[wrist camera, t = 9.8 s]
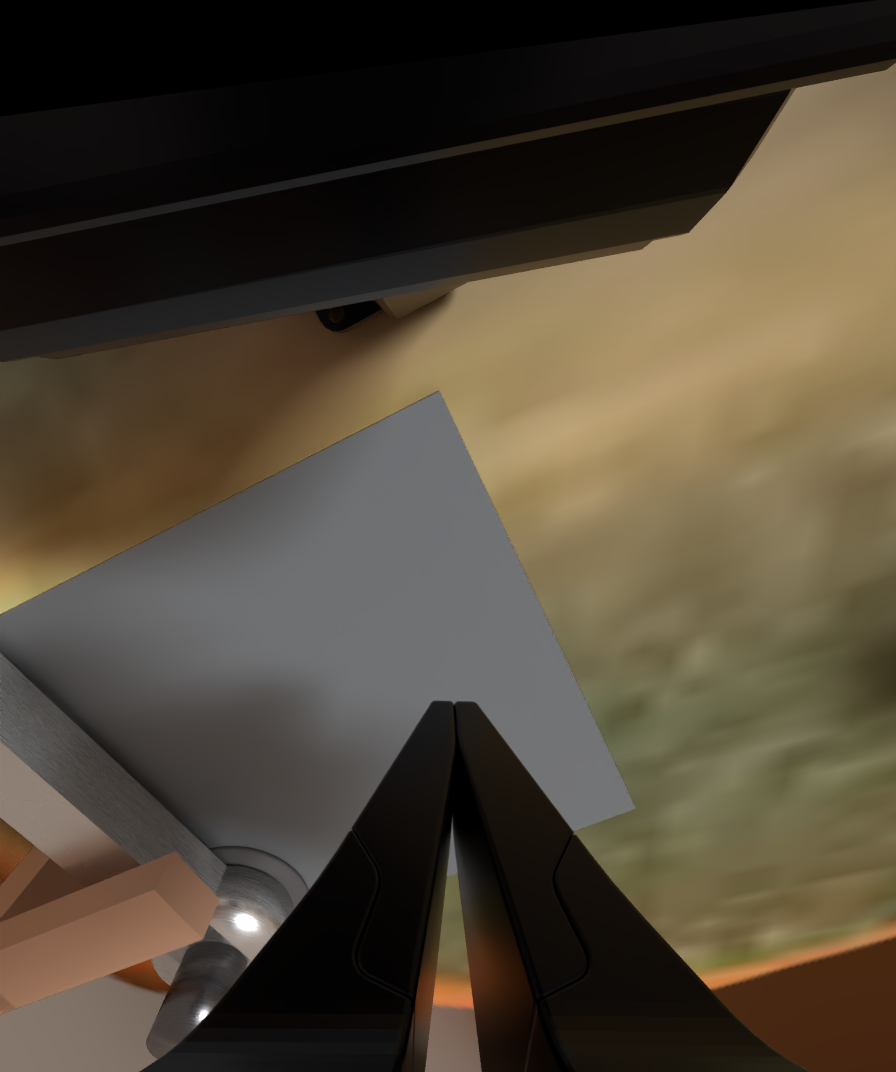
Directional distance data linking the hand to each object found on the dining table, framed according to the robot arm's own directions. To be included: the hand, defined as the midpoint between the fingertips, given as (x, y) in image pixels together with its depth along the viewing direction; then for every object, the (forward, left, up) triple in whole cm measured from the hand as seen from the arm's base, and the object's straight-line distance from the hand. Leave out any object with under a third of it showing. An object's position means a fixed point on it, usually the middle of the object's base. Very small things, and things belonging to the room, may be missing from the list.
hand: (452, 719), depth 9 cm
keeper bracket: (+5, -16, -8) cm, 18 cm away
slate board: (+4, -8, -8) cm, 12 cm away
